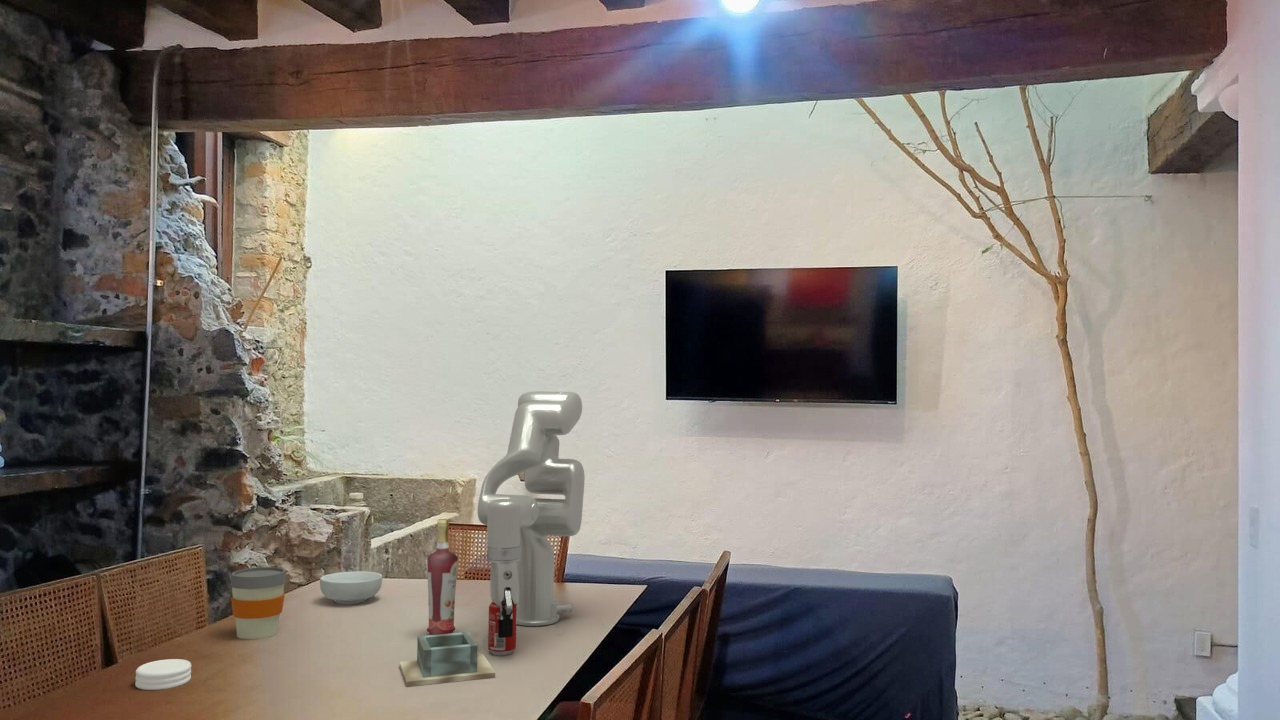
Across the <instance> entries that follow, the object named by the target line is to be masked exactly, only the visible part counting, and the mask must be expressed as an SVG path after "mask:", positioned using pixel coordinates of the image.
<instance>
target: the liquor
mask: <svg viewBox="0 0 1280 720" xmlns="http://www.w3.org/2000/svg"><path fill="white" fill-rule="evenodd" d="M449 523H450V519H448V518H440V519H437V531H438V534H437V535H438V536H437V543H436V551H435V552H432V553H431V554H429V556H427V557H426V561H427V562H426V563H427V565H426V566H427V590H428V596H427V597H428V627H427V629H426V631H427V633H428V634H429V635H439V634H450V633H454V632H455V631H456V626H455V625H454V624H455V608H456V607H455V606H456V605H455V603H456V589H457V578H458V555H457V554H455V552H452V551H450V547H449V534H448V533H449V532H448V531H449V526H450V524H449Z"/></svg>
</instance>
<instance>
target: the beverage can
mask: <svg viewBox="0 0 1280 720" xmlns="http://www.w3.org/2000/svg"><path fill="white" fill-rule="evenodd" d="M512 601H513V600H512ZM502 605H506V604H505V603H502ZM512 607H513V608H512V614H513V635H512V637H503V638H499V637H498V619H500V614H499V612H500V609H499V606H497V605H496V604H495V601H493V599H491V603H490V604H489V606H488V626H487V627H488V631H487V632H488V635H487V638H488V640H487V642H488V643H487V650H489V652H490V653H491V654H492V655H494V656H508V655H512V654H513V652H514V651H515V650H516V649H517V624H516V618H517V606H515V605H514V604H513V603H512ZM502 609H503V611H504V609H505V608H502Z"/></svg>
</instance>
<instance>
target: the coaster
mask: <svg viewBox="0 0 1280 720" xmlns="http://www.w3.org/2000/svg"><path fill="white" fill-rule="evenodd" d="M191 673H192V663H191V661H189V660H187V659H183V658H182V659H180V658H170V659H159V660H155V661H150V662H146V663H144V664H141V665H139V666H138V667H137V669H136V670H135V682H134V684H135V687H136V688H138V689H140V690H144V691H145V690H146V691H158V690H160V691H161V690H167V689H173V688H176V687H180V686H182V685H185V684H187V683H188V682H189V681H190V680H191V678H192V676H191Z"/></svg>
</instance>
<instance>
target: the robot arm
mask: <svg viewBox="0 0 1280 720" xmlns="http://www.w3.org/2000/svg"><path fill="white" fill-rule="evenodd" d="M582 413H583V401H582V398H581V397H580V394H578V393H576V392H573V391H545V390H543V391H542V390H541V391H529V392H525V393H522V394H521V395H519V398H518V401H517V408H516V410H515V413H514V418H513V422H512V426H511V427H512V428H511V433H510V438H509V444H508V445H507V446H508V449H507V453H506V454H505V456H503V457H502V458H501V459H499V461H497V463H496V464H495V465H493V466H492V468H491V469H490V470H489V471H488V473H487V474H486V476H485V477H484V478H483V482H482V484H481V489H480V493H479V497H478V503H477V517H478V521H479V522H480V523H481V524H483V525H485V526H487V528H486V530H487V531H486V532H487V533H486V534H487V535H486V546H487V547H486V561H487V562H488V563H490V575H489V577H490V578H489V593H490V599H491V600H492V599H493V601H495V604H496V605H497V606H499V609H500V612H499V614H500V619H498V637H499V638H503V637H512V635H513V614H512V608H513V607H512V603H513V604H514V605H515V606H517V618H516V625H519V626H525V627H538V626H539V627H542V626H548V625H552V624H555V623H558V621H559V620H560V613H561V612H564V613H567V612H569V613H570V612H572V604H571V603H563V602H561V603H557V602H555V600H554V597H555V596H554V594H555V593H554V591H555V589H554V588H555V583H554V581H555V552H554V548H553V546H552V544H551V542H550V541H549V540H548V538H547V537H550V536H551V537H573V536H576V535H577V534H578V533H579V532H580V529H581V527H582V522H583V521H582V518H583V517H582V516H583V507H584V506H583V505H584V494H585V493H584V492H585V469H584V466H583V464H582V463H581V462H580V461H578V460H577V459H572V458H559V457H560V455H559V454H560V453H559V452H560V440H559V437H558V436H566V435H567V434H569V433H570V432H571V431H572V430H573V429H574V428H575V426H576V424H578V423H579V420H580V419H581V416H582ZM522 473H524V487H525V490H526V491H528V492H530V493H532V494H538V495H555V496H556V495H559V496H560V495H561V496H564V499H562V498H559V499H558V498H540V497H539V498H538V497H535V498H534V497H532V496H529V495H523V494H497V491H498V489H499V488H500V486H501V485H502V484H503V483H504V482H506V481H507V480H509V479H511V478H513V477H515V476H517V475H521V474H522ZM512 600H513V601H512ZM502 603H505V604H506V605H502ZM502 608H505V609H504V611H503V609H502Z"/></svg>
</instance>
